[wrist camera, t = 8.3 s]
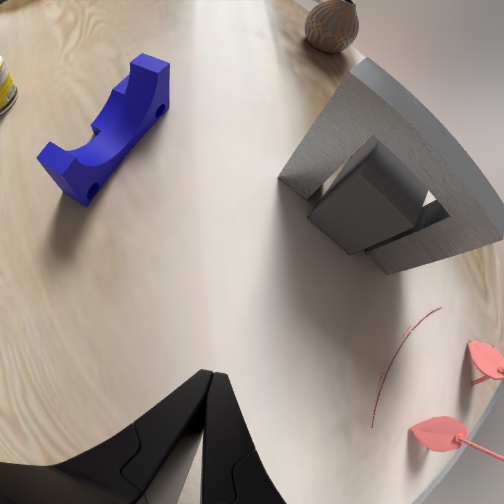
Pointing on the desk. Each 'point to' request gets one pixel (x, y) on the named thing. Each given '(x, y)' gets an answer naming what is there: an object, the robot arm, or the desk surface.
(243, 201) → the desk surface
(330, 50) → the vase
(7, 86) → the supplement bottle
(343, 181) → the plug
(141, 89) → the cable clip
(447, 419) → the figurine
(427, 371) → the desk surface
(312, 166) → the frame
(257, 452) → the robot arm
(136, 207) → the desk surface
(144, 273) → the desk surface
